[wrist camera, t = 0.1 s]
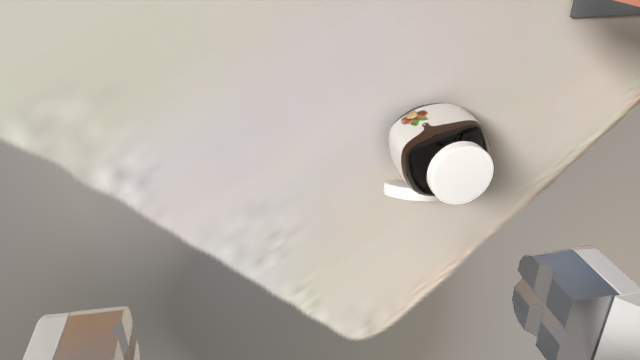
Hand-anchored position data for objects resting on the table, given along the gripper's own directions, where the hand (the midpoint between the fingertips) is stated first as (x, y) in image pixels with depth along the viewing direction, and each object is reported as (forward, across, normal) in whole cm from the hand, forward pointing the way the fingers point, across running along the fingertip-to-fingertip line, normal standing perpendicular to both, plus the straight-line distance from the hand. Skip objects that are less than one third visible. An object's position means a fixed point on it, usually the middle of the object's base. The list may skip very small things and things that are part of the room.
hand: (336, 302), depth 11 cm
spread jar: (+48, -21, +20) cm, 56 cm away
